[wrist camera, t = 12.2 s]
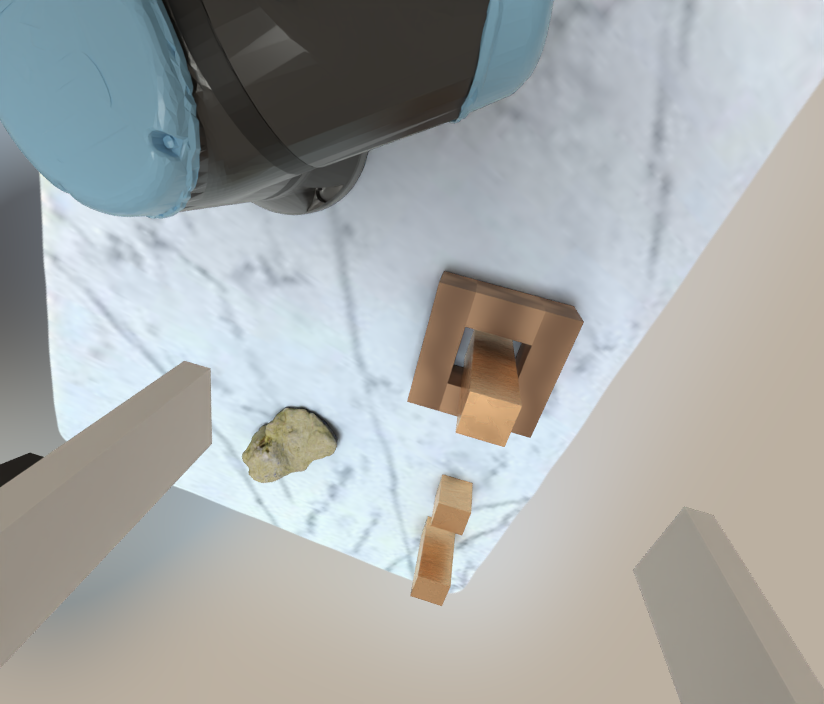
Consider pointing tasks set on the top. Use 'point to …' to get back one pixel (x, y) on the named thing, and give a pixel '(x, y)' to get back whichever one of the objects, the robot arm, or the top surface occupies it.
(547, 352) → the hole block
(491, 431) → the long pin
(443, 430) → the top surface
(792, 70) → the top surface
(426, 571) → the medium pin
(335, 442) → the rock
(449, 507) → the short pin
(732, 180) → the top surface
